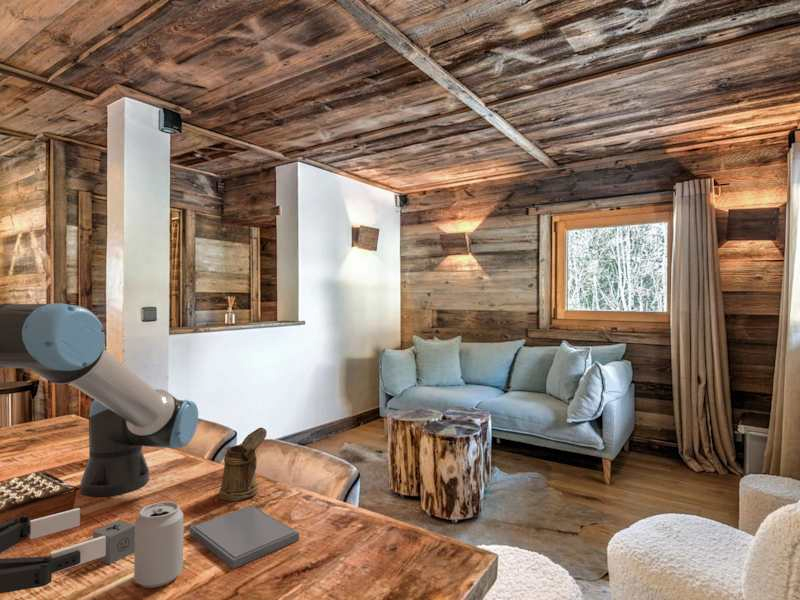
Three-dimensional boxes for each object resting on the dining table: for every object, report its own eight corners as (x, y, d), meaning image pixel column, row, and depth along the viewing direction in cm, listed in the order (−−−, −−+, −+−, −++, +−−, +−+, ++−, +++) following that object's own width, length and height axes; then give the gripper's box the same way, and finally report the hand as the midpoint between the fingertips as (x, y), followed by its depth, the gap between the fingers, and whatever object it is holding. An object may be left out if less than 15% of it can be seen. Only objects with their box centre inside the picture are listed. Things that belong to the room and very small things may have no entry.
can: (133, 595, 77) (133, 521, 77) (135, 571, 83) (135, 503, 83) (184, 583, 80) (184, 512, 80) (181, 561, 87) (182, 495, 87)
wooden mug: (242, 510, 107) (243, 431, 107) (212, 494, 116) (212, 421, 116) (275, 498, 114) (276, 423, 114) (244, 483, 123) (245, 414, 123)
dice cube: (118, 545, 92) (119, 519, 92) (135, 551, 90) (136, 525, 90) (92, 558, 88) (93, 531, 88) (110, 564, 85) (110, 537, 85)
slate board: (189, 534, 96) (189, 526, 96) (251, 511, 107) (251, 504, 107) (233, 569, 84) (233, 559, 84) (298, 540, 95) (299, 531, 95)
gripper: (-110, 579, 67) (69, 528, 82) (-109, 674, 50) (117, 587, 65) (-109, 525, 67) (70, 484, 82) (-107, 602, 50) (118, 532, 65)
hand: (91, 530), depth 74 cm, fingers open, 13 cm apart
